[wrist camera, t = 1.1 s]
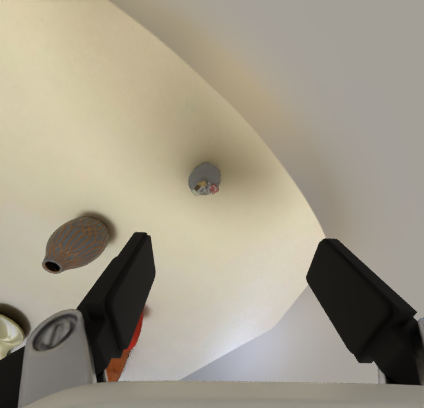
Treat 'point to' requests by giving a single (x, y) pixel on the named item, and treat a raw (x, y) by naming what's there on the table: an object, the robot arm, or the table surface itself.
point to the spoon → (9, 335)
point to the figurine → (204, 179)
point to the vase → (75, 244)
